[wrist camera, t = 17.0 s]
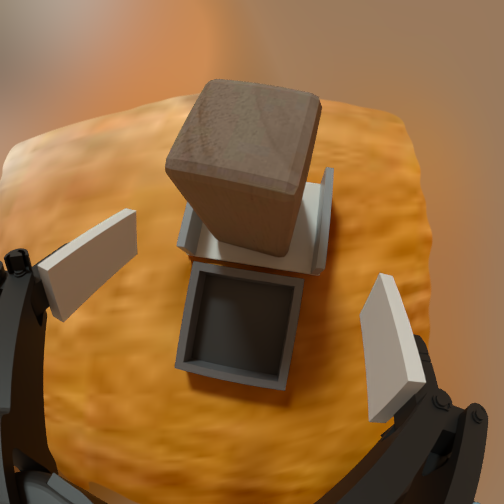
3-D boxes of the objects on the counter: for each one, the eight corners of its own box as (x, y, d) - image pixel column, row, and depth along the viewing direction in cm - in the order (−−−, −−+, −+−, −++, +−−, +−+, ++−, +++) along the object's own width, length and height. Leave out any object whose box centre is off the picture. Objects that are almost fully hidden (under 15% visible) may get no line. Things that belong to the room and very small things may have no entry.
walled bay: (318, 275, 36) (327, 269, 30) (188, 255, 38) (174, 245, 32) (328, 187, 38) (335, 168, 33) (208, 172, 40) (199, 152, 35)
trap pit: (283, 382, 33) (284, 390, 29) (184, 362, 34) (174, 367, 30) (301, 282, 36) (304, 279, 32) (201, 266, 37) (193, 261, 33)
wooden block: (303, 193, 38) (325, 91, 18) (285, 261, 36) (299, 200, 16) (236, 177, 39) (207, 73, 19) (213, 241, 37) (155, 168, 18)
